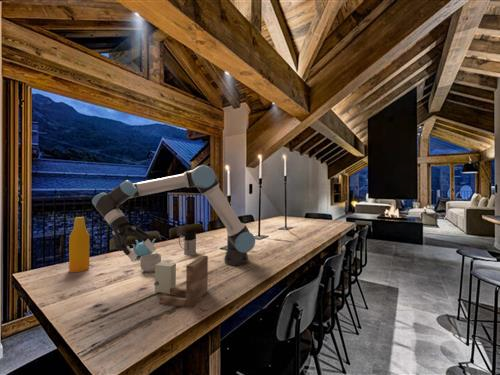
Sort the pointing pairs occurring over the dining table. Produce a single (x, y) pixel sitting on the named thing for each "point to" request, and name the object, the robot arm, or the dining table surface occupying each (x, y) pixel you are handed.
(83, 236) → the beer bottle
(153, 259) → the teacup
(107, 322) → the dining table surface
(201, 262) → the wooden stand
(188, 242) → the glass holder
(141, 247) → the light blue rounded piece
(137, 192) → the robot arm
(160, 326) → the dining table surface
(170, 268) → the block
